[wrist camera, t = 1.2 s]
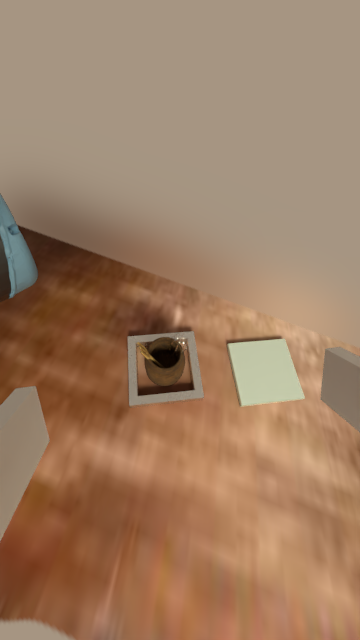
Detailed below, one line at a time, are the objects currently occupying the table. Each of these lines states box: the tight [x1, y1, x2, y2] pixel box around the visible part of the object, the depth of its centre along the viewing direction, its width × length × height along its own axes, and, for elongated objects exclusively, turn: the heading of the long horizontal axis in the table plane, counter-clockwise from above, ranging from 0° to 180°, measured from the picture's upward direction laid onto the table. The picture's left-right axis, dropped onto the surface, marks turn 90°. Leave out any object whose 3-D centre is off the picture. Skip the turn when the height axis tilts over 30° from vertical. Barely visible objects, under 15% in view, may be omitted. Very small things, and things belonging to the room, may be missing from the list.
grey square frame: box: [128, 331, 204, 408], centre depth 40 cm, size 11×11×2 cm
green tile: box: [227, 339, 305, 407], centre depth 41 cm, size 10×10×1 cm
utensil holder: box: [137, 333, 188, 386], centre depth 35 cm, size 6×6×12 cm
